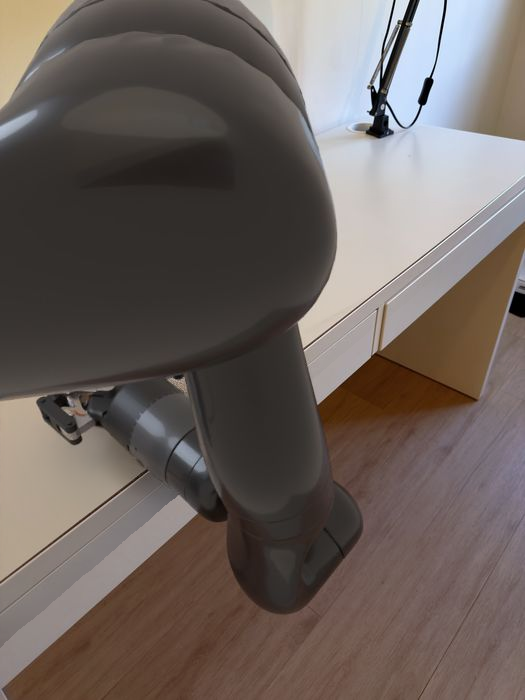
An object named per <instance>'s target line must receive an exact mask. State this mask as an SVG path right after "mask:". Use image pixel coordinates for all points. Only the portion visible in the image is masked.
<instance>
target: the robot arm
mask: <svg viewBox="0 0 525 700" xmlns="http://www.w3.org/2000/svg"><path fill="white" fill-rule="evenodd" d="M296 77H297V76H296V75H295V72H294V70H293V68H292V66H291V63H290V61H289V59H288V57H287V55H286V53H285V52H284V51H283V49H282V48H281V46H280V45H279V43H278V42H277V40H276V38H274V36H273V35H272V33H271V32H270V30H269V29H268V27H267V26H266V25H265V24H264V23H263V21H261V20H260V19H259V18H258V17H257V16H256V15H255V14H254V13H253V12H252V11H251V10H250V9H249V8H248V7H247V6H246V5H245V4H244V3H243V2H242V1H241V0H73V1H72V2H71V3H70V4H69V5H68V6H67V7H66V8H65V10H64V11H63V12H61V14H60V15H59V16H58V18H57V19H56V20H55V22H53V24H52V25H51V27H50V28H49V29H48V31H47V32H46V34H45V36H44V37H43V38H42V40H41V42H40V44H39V46H38V48H37V50H36V51H35V54H34V55H33V57H32V58H31V60H30V62H29V64H27V67H26V68H25V71H24V72H23V74H22V76H21V78H20V80H19V81H18V84H17V86H15V88H14V91H13V92H12V94H11V96H10V98H9V100H8V101H7V102H6V103H5V104H4V105H3V106H2V107H1V108H0V402H9V401H15V400H21V399H30V398H36V397H37V399H36V400H35V404H36V406H37V408H38V409H39V411H40V414H41V417H42V419H43V421H44V422H45V423H46V424H47V425H48V426H49V427H51V429H53V430H54V431H55V432H56V433H57V434H58V435H59V436H61V437H62V438H63V439H64V440H65V441H66V442H68V443H69V444H70V445H71V446H77V445H79V444H81V443H82V442H83V436H82V435H83V434H84V433H86V432H87V431H88V430H91V429H92V428H93V427H96V428H100V429H104V430H105V431H106V432H107V433H108V434H109V435H110V436H111V437H112V438H113V439H114V440H115V441H116V442H117V443H119V444H120V446H122V448H124V449H125V450H126V451H127V452H128V453H129V454H130V455H131V456H132V457H133V458H134V459H135V461H136V462H137V463H138V464H139V465H140V466H141V467H142V468H145V469H146V470H147V471H148V472H149V473H150V474H152V475H153V476H154V477H155V478H157V479H158V480H160V481H162V482H163V483H164V484H166V485H167V486H168V487H170V488H171V489H172V490H173V491H174V492H175V493H176V494H177V495H178V496H179V497H181V498H182V500H184V501H185V502H186V503H187V504H188V505H189V506H190V507H191V508H192V509H193V511H195V512H196V513H197V514H199V515H200V517H202V518H203V519H205V520H207V521H208V522H211V523H223V522H226V552H227V558H228V562H229V566H230V568H231V571H232V573H233V576H234V578H235V580H236V582H237V583H238V585H239V587H240V589H241V590H242V591H243V593H244V594H245V595H246V596H247V598H249V599H250V601H252V602H253V603H254V604H255V605H256V606H258V607H259V608H260V609H262V610H264V611H266V612H268V613H271V614H274V615H282V616H286V615H292V614H295V613H297V612H300V611H301V610H302V609H304V608H305V607H307V605H308V604H309V603H310V602H311V601H313V599H314V598H315V596H317V594H318V593H319V591H320V590H321V589H322V588H323V586H324V585H325V584H326V583H327V582H328V580H329V579H330V578H331V577H332V576H333V574H334V573H335V571H336V570H337V569H338V568H339V566H340V565H341V564H342V562H343V561H344V560H345V559H346V558H347V557H348V555H349V554H350V553H351V552H352V550H353V549H354V548H355V546H357V543H358V542H359V541H360V539H361V537H362V535H363V532H364V518H363V513H362V511H361V509H360V506H359V505H358V502H357V501H356V499H355V498H354V496H353V495H352V494H351V493H350V492H349V491H348V490H347V489H346V488H345V487H344V486H343V485H342V484H340V483H339V482H337V481H336V480H335V479H334V475H333V469H332V463H331V456H330V451H329V445H328V441H327V437H326V433H325V429H324V423H323V421H322V417H321V413H320V409H319V405H318V402H317V401H318V400H317V398H316V394H315V390H314V386H313V381H312V378H311V373H310V370H309V366H308V362H307V357H306V354H305V349H304V345H303V341H302V336H301V331H300V327H299V322H300V321H301V320H302V319H303V318H304V317H305V316H306V315H307V314H308V313H309V312H310V311H311V309H312V308H313V307H314V306H315V304H316V303H317V302H318V300H319V298H320V297H321V294H322V293H323V291H324V289H325V288H326V286H327V284H328V283H329V281H330V278H331V274H332V272H333V268H334V265H335V262H336V257H337V252H338V225H337V215H336V206H335V201H334V198H333V194H332V189H331V186H330V183H329V180H328V176H327V172H326V169H325V166H324V163H323V159H322V155H321V152H320V147H319V145H318V142H317V140H316V136H315V132H314V130H313V126H312V122H311V120H310V117H309V113H308V111H307V107H306V102H305V99H304V96H303V92H302V88H301V86H300V84H299V81H298V79H297V78H296ZM172 378H173V379H174V380H177V381H180V380H183V379H184V382H185V386H186V390H187V391H186V392H187V393H185V392H184V391H183V390H181V389H180V388H178V386H176V385H174V384H173V383H172V382H171V381H169V380H170V379H172ZM86 395H89V400H87V398H86ZM67 397H71V398H72V399H70V398H67ZM70 410H75V411H77V412H78V413H79V414H85V416H78V415H74V413H73V412H71V411H70ZM66 411H70V412H66Z"/></svg>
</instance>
